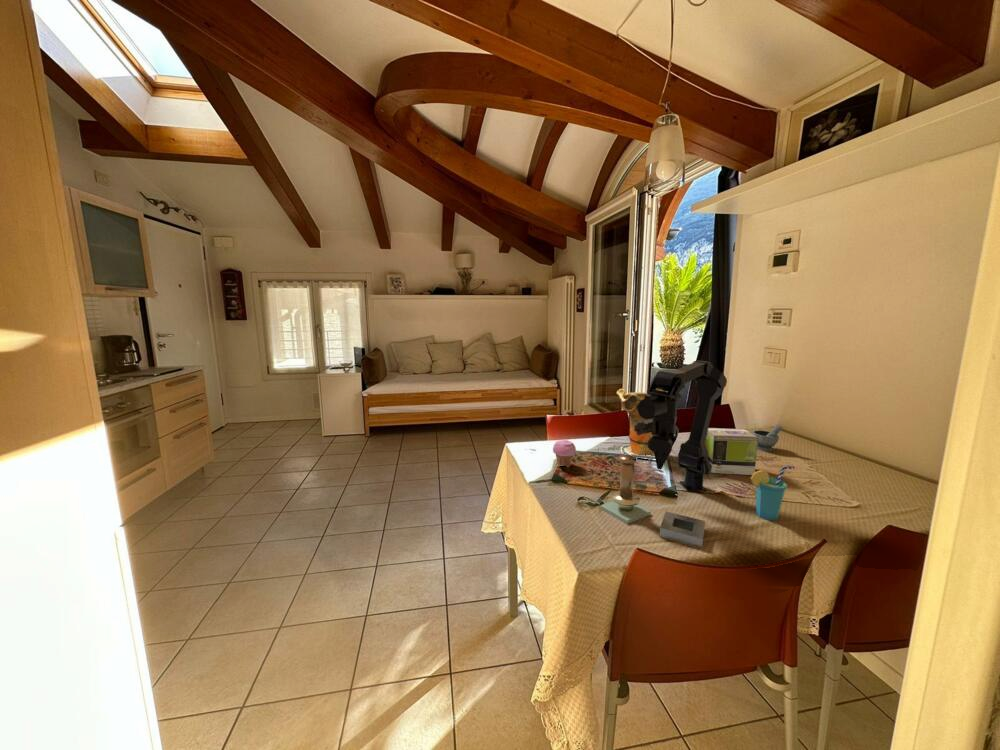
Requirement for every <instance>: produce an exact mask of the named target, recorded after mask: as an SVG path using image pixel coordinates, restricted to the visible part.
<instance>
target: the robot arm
mask: <svg viewBox="0 0 1000 750" xmlns="http://www.w3.org/2000/svg"><path fill="white" fill-rule="evenodd" d="M693 380H694V381H695V390H696V393H697V396H698V399H697V403H696V407H695V411H694V415H693V421H692V424H691V429H690V433H689V436H688V439H687V440H686V441H685V442H682V443H680V447H679V452H678V453H677V462H678V467H679V468H681V469H684V477H683V480H681V481H679V484H681V485H680V486H682V487H683V488H684V489H685V490H686V492H708V489H707V488H706V487H705V486H704V476H705V475H706V476H709V475H710V473H711V468H712V465H711V464H710V462H709V460H708V459H707V457H708V450H707V448H706V445H705V440H706V436H707V432H708V428H710V427H709V426H710V422H711V418H712V415H713V411H714V406H715V401H716V400H717V399H719V398H720V396H722V394H723V393H724V389H725V388H726V386H727V382H728V380H727V377H726V376H725V374H724V372H723V371H721V370H720V369H718V368H717V367H715V366H714V365H713V364H712V363H711V362H710V361H706V360H705V361H704V360H694V361H692V363H689V364H686V365H685V366H682V367H679V368H677V369H673V370H672V369H670V370H669V369H664V370H659V371H658V372H656V373H655V375H654V376H653V379H652V381H651V383H650V385H649V387H648V390H647V391H646V392H647V395H645V396H644V399H643V400H641V401H640V402H639V404H638V405H637V410H638V413H639V415H640V416H641V417H642V418H644V419H650V420H645V421H639V422H636V423H635V425H634V427H635V429H634V431H636V433H637V435H641V434H645V433H650V432H652V433H651V435H656V436H652V437H651V438H650V439H649V440H648V448H649V449H650V450H652V451H653V452H654V455H655V459H656V460H655V464H656V468H657V470H662V469H663V466H664V465H665V464H666V462H667V460H668V458H669V456H670V454H671V453H672V450H673V446H674V444H675V442H676V441H677V438H678V436H679V429H680V428H678V426H677V425H676V422H677V420H678V419H677V418H678V416H677V409H678V401H679V400H678V399H681V398H682V394H680V392H681V391H683V390H684V389H685V387H686V386H685V385H686V384H687V383H690V382H692V381H693ZM656 389H657V390H656ZM660 390H662V391H660ZM666 391H667V392H666ZM648 394H650V395H648ZM651 418H653V419H651Z"/></svg>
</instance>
